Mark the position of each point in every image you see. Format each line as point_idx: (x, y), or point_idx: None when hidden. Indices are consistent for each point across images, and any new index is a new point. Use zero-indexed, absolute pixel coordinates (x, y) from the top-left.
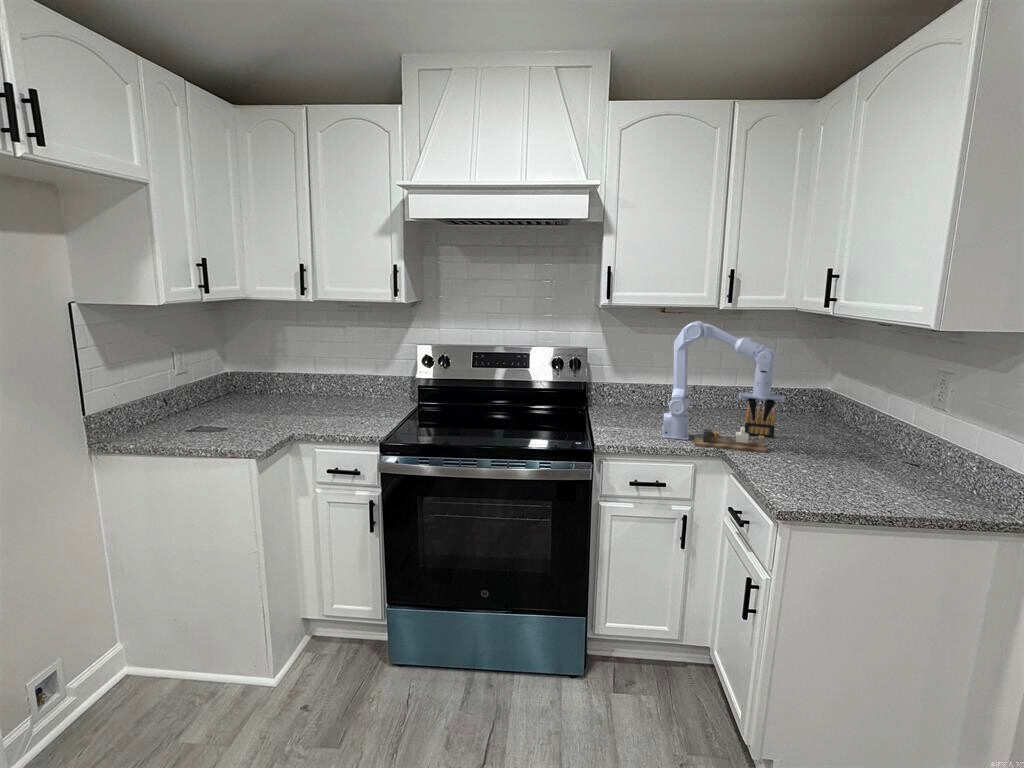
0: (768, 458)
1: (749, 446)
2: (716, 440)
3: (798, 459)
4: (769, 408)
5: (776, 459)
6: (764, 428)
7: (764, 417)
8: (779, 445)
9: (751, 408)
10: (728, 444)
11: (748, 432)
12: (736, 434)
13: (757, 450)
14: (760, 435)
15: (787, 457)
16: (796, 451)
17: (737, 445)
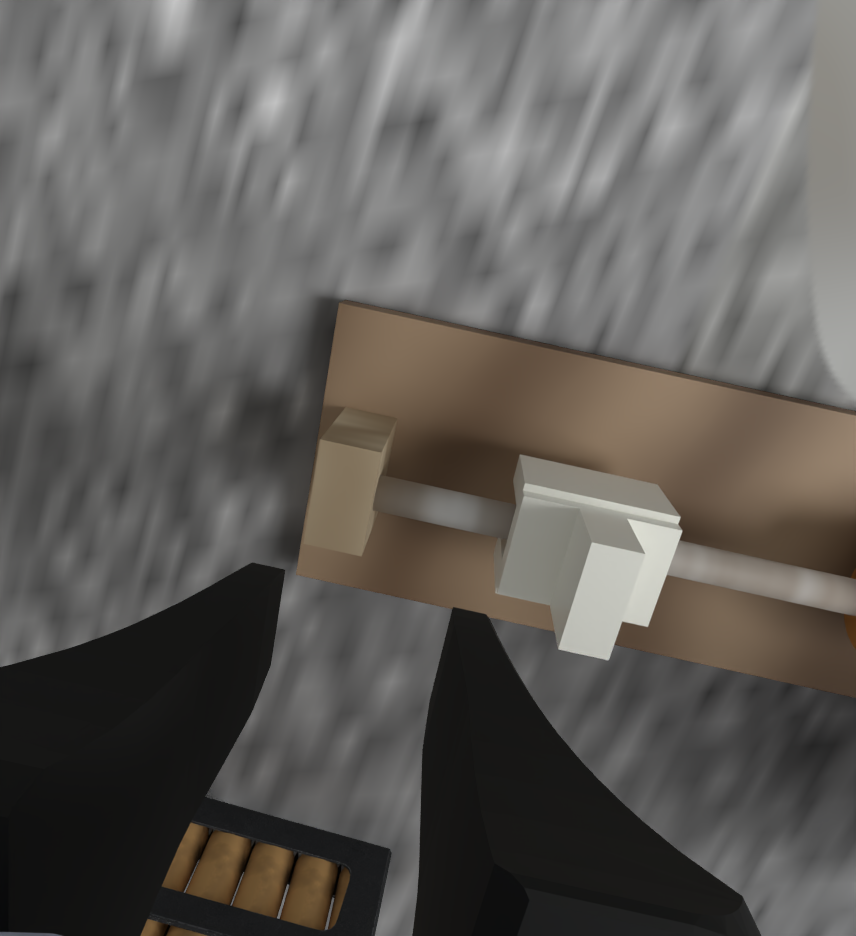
0: (395, 79)
1: (501, 430)
2: (803, 617)
3: (51, 92)
4: (53, 684)
5: (310, 50)
6: (183, 891)
7: (259, 607)
8: (136, 579)
9: (594, 779)
10: (727, 483)
11: (343, 873)
12: (670, 546)
13: (445, 323)
14: (341, 550)
15: (158, 157)
16: (12, 398)
17: (633, 452)
